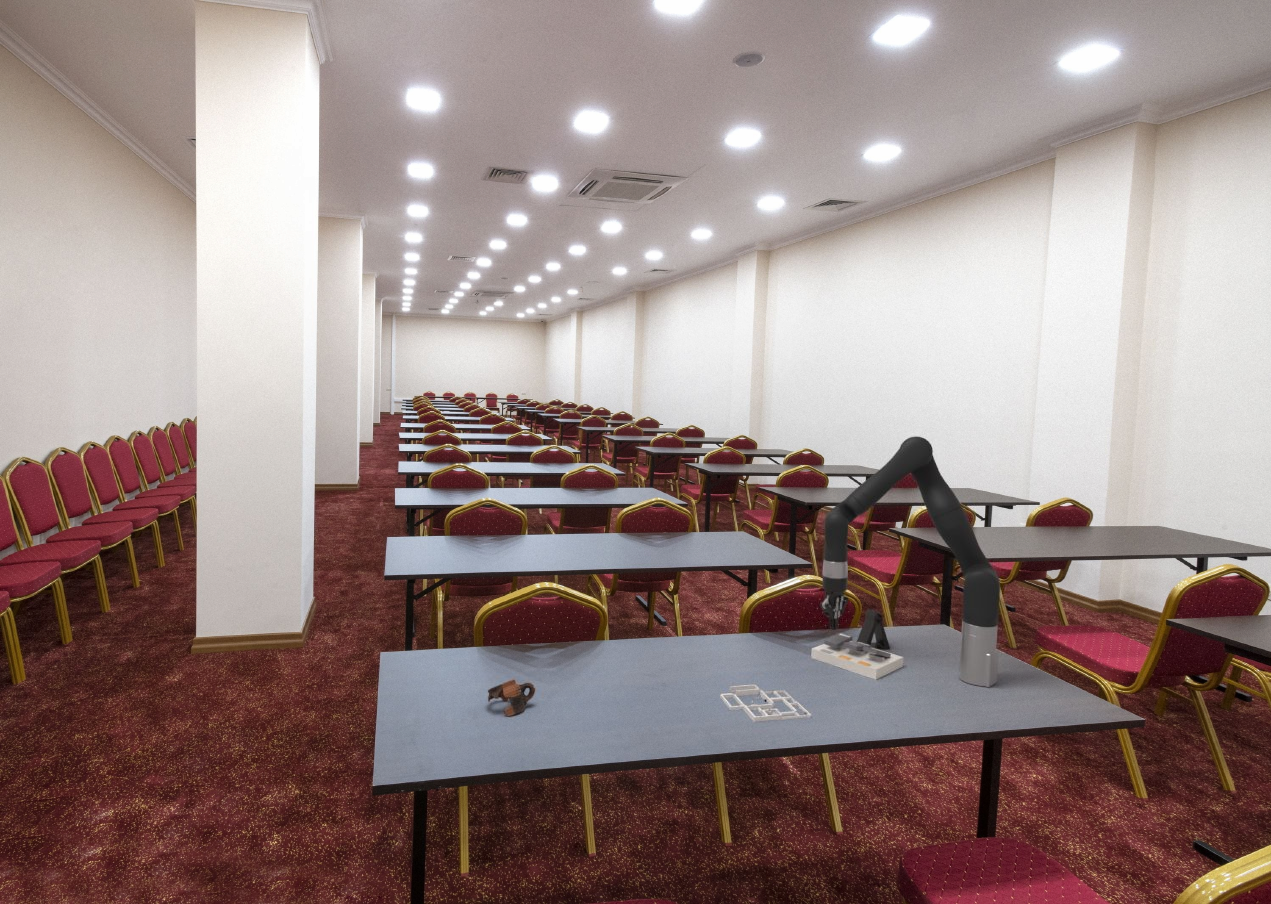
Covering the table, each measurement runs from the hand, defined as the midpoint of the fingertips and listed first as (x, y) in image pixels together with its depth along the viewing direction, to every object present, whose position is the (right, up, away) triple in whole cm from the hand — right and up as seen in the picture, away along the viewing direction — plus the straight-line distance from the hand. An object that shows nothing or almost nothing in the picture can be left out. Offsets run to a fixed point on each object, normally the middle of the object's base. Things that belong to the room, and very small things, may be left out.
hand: (833, 629), depth 216 cm
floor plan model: (-31, -12, -34) cm, 48 cm away
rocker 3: (+11, -6, -7) cm, 14 cm away
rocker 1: (+2, -5, +3) cm, 6 cm away
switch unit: (+7, -10, -2) cm, 12 cm away
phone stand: (+17, -9, +13) cm, 23 cm away
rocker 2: (+7, -5, -2) cm, 9 cm away
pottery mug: (-94, -11, -39) cm, 102 cm away
